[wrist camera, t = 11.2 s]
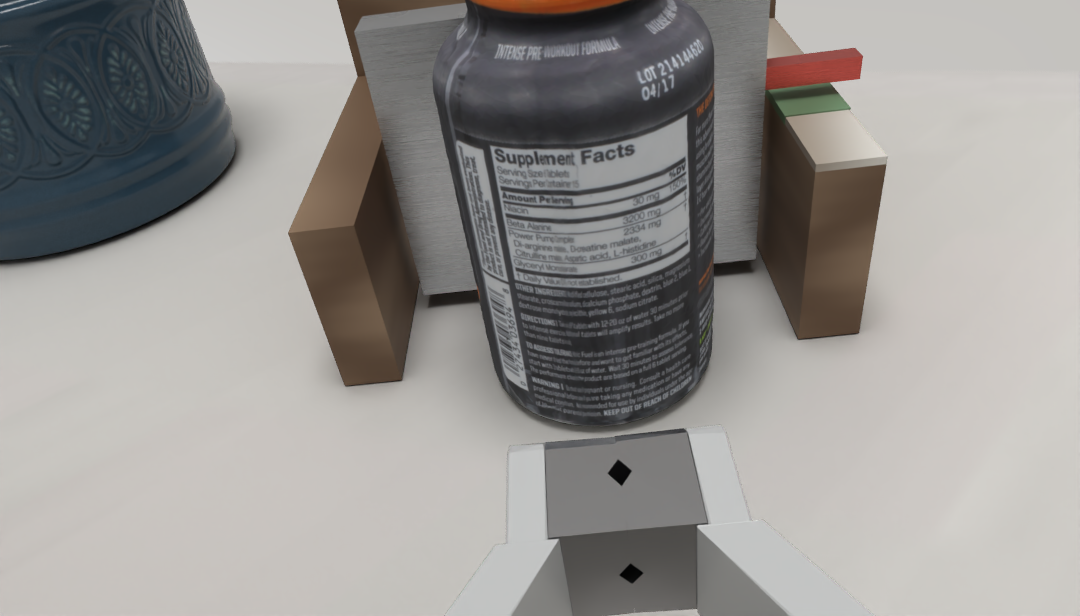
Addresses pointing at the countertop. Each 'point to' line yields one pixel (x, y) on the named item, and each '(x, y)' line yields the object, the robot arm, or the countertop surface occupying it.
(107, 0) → the canister
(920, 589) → the countertop surface
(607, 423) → the pill bottle
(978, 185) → the countertop surface
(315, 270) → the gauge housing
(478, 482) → the countertop surface
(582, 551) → the robot arm
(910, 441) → the countertop surface
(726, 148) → the brushed metal plate
